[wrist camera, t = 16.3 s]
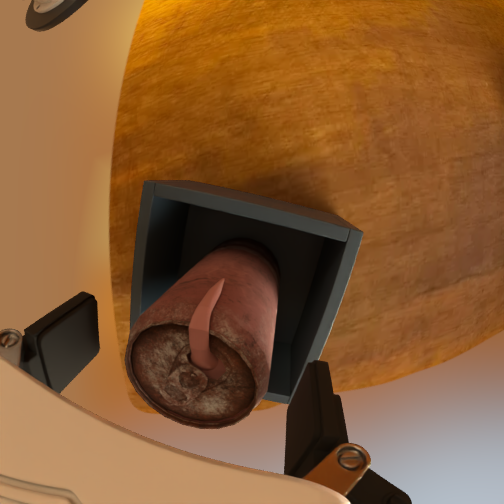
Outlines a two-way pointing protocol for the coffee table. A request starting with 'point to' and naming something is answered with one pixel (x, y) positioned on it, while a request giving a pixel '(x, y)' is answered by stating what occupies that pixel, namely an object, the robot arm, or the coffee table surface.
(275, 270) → the brown cylinder
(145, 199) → the bin
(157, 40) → the coffee table surface
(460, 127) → the coffee table surface
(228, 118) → the coffee table surface
